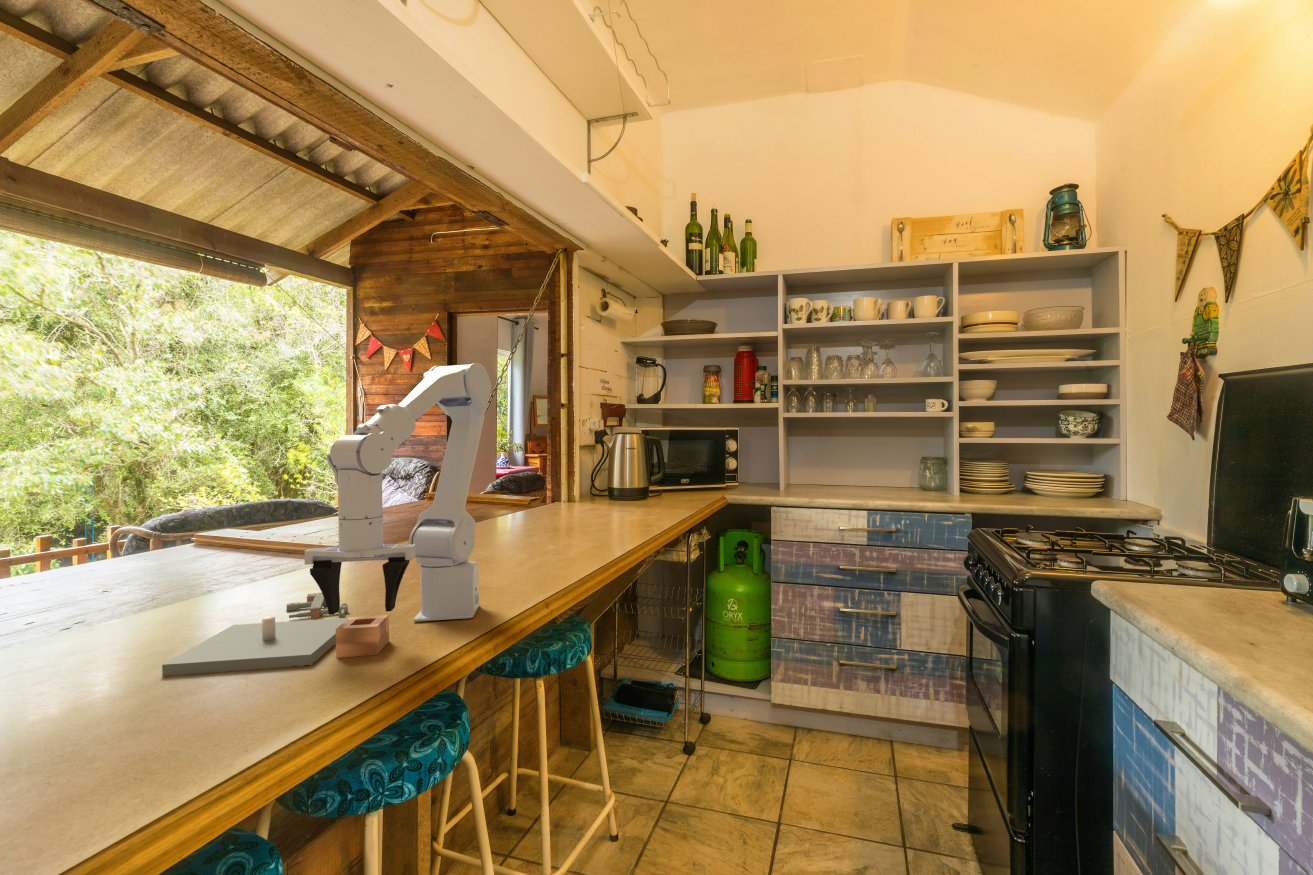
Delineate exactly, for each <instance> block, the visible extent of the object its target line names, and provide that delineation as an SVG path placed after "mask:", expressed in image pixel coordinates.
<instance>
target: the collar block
mask: <svg viewBox="0 0 1313 875" xmlns="http://www.w3.org/2000/svg"><path fill="white" fill-rule="evenodd" d="M348 618H349V619H347V620H346V621H345V622H344V623H343V624H341V625H340V626H339V627H338V628H337V629H336V644H335V654H336V655H335V658H336V659H337V658H338V659H339V658H351V657H354V658H355V657H365V656H377V655H379V654H380V652H382V650H383V649H384V648H385V647H386V645H388V644H389V643H390V622H389V618H390V617H389V614H382V615H381V614H379V615H366V616H365V615H361V616H350V617H348Z"/></svg>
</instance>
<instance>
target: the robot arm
mask: <svg viewBox="0 0 1313 875" xmlns="http://www.w3.org/2000/svg"><path fill="white" fill-rule="evenodd" d="M491 390H492V382H491V379H490V376H489V374H488V372H487V369H486V368H485V366H483V364H481V363H479V362H473V363H471V364H470V363H469V364H455V365H454V364H453V365H434V366H432V367H431V368H430V369H429V370H428V371H426V372H424V373H423V376H422V380H421V382H419V383H418V384H417V385H416V386H415V387H414V388H413V390H411V391H410V393H409V394H407V396H406V397H405V398H403V399H402V401H400V402H399V403H398V404H394V403H392V404H391V403H389V404H382V405H379V406H378V407H377V408H376V413H375V414H374V415H373V416H372V417H370V418H369V419H368V420H367V421H365V423H359V425H358V426H356V430H355V431H354V432H353V433H352V434H347V435H342V436H340V437H339V438H337V439H336V440H335V441H334V443H333V444H332V445H331V447H330V451H329V453H328V454H326V460H327V463H328V466H329V468H330V469H331V470H332V472H333V474H334V483H335V484H336V486H337V509H338V510H337V514H338V515H337V516H338V546H329V547H316V548H313V547H312V548H309V549H305V550H304V565H312V567H311V568H310V569H309V573H310V576H311V577H312V579H313V580H314V581H315V583H316V584H317V586H318V588H319V590H320V593H322V594H323V597H324V599H325V602H326V605H327V606H326V610H327V609H328V613H329V614H328V615H329V616H330V615H331V616H332V615H336V614H337V613H336V612H338V611H339V608H340V606H341V599H340V598H341V596H340V579H341V570H342V564H343V563H346V562H347V563H348V562H367V561H368V562H371V561H372V562H373V561H374V562H375V561H386V562H385V563H383V564H382V572H383V576H384V578H383V579H384V587H385V593H384V594H385V598H384V606H385V612H392V611H393V610H394V609H395V608H396V603H397V602H396V601H397V596H398V592H399V589H400V586H401V582H402V579H403V577H404V575H405V573H406V570H407V568H408V566H409V564H410V562H411V561H412V560H414V559H416V564H418V565H419V568H420V569H419V571H420V572H419V574H420V575H419V576H420V579H419V580H420V611H419V612H418V613H417V615H415V617H414V618H413V622H428V621H432V622H433V621H442V620H443V621H445V620H460V619H462V620H463V619H472V618H473V617H474V616H475V614H476V612H477V610H478V608H479V606H480V589H479V588H480V587H479V585H480V581H479V579H480V578H479V565H478V562H477V561H474V560H473V561H471V560H470V561H469V558H470V557H471V555H472V553H473V551H474V548H475V544H476V543H475V542H476V537H475V526H476V520H475V519H474V518H473V517H472V515H471V514H470V512H468V511H467V510H466V504H467V500H468V495H469V490H470V487H471V486H470V485H471V481H472V477H473V471H474V467H475V464H476V463H475V462H476V460H477V454H478V449H479V444H480V442H481V436H482V435H481V434H482V431H483V428H484V427H483V426H484V422H485V413H486V412H487V409H488V404H489V399H490V394H491V392H492V391H491ZM435 405H438V407H439V408H440V410H441V411H442V412H443V413H444V414H445V415H446V416H448V417H449V418H450V419H451V426H450V430H449V434H448V439H447V444H446V447H445V452H444V455H443V460H442V463H441V464H442V465H441V469H440V473H439V476H438V477H439V478H438V481H437V484H436V488H435V489H436V490H435V494H434V498H433V503H432V504H431V505H430V506H428V507H427V508H426V509H424V510H423V511H422V512H421V513H419V515H418V517H417V522H416V524H415V526H414V527H413V528H412V531H411V532H410V535H409V538H408V544H404V543H403V544H402V543H401V544H399V543H398V544H397V543H396V544H395V543H384V519H383V517H384V514H383V511H384V510H383V472H384V471H385V470H387V469H388V468H389V467H390V465H391V462H392V460H393V459H392V458H393V457H392V456H393V454H395V452H396V449H397V448H399V446H400V445H401V444H403V443H404V441H406V440H407V439H408V438H409V437H410V436H411V435H412V434H413V433H414V432H415V430H416V420H417V419H419V418H420V417H422V415H424V414H425V413H426V412H428V411H429V410H430V409H431V408H433V407H434V406H435Z"/></svg>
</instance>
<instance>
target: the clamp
mask: <svg viewBox="0 0 1313 875" xmlns="http://www.w3.org/2000/svg"><path fill="white" fill-rule="evenodd" d="M323 606H324V607H327V605H326V602H325V599H324V597H323V594H322V592H315V593H308V594H307V596H306V602H299V601H298V602H291V603H287V604H286V612H291V611H297V610H300V609H307V608H308V609H309V611H305V612H304V611H303V612H297V613H294V614H289V615H288V618H289V619H293V618H294V619H295V618H300V619H301V618H306V617H311V619H312V618H313V619H319V618H320V616H322V615H329V613H328V609H327V608H326V609H323V608H322V607H323ZM321 609H323V610H321ZM348 613H349V606H348V603H345V602H344V603H341V604H340V608H339V611H338V612H336V613H335V614H338V616H337V617H338V618H346V614H348ZM318 617H319V618H318Z"/></svg>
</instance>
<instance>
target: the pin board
mask: <svg viewBox="0 0 1313 875" xmlns="http://www.w3.org/2000/svg"><path fill="white" fill-rule="evenodd" d="M349 618H350V617H344V618H339V617H338V618H325V619H323V618H322V619H308V620H292V621H291V620H289V621H276V616H272V615H271V616H270V615H269V616H266V617H263V618H261V622H259V623H257V622H256V623H241V624H240V623H239V624H232V625H230V626H228V627H227V628H225V629H223V630H221V631H219V632H218V633H217V634H215V635H213V636H211V637H209V638H208V639H205V640H204V641H202V642H201V643H199V644H196V645H195V646H194V647H191V648H190V649H188V650H186V651H184V652H182V653H180V654H178V655H177V656H175V657H174V658H171V659H170V660H168V661H166V662H164V663H162V664H161V667H162V669H161V672H162V677H172V676H185V675H186V676H187V675H196V674H197V675H198V674H212V673H214V674H215V673H225V672H239V671H252V670H265V669H266V670H268V669H282V668H281V667H284V668H294V667H293V666H298V667H305V666H304V665H311V666H312V665H314V664H315V663H316V662H317V661H318V660H320V658H321V657H322V656H324V655H325V654H326V653H327V652H328V651H329V650H331V649H332V648H333V647H332V646H333V645H334V646H336V629H337V628H338V627H339V626H340V625H341V624H343V623H344V622H345V621H346V620H347V619H349ZM324 653H325V654H324ZM323 654H324V655H323ZM314 662H315V663H314ZM291 666H292V667H291Z"/></svg>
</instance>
